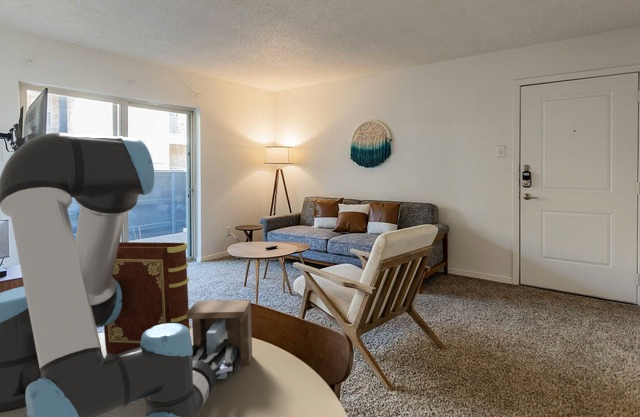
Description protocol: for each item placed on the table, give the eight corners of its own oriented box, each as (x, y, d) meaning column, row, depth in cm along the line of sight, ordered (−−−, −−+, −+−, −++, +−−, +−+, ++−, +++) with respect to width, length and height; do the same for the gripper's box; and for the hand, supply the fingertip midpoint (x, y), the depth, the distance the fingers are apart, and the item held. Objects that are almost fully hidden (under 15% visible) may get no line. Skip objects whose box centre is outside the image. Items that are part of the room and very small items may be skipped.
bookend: (199, 379, 88) (197, 333, 87) (211, 358, 98) (209, 317, 97) (225, 378, 88) (223, 332, 87) (234, 358, 98) (233, 316, 97)
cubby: (189, 374, 93) (186, 312, 92) (200, 357, 102) (197, 300, 100) (246, 373, 93) (244, 311, 92) (252, 355, 102) (250, 299, 101)
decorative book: (195, 345, 109) (191, 242, 107) (182, 358, 101) (177, 247, 99) (123, 342, 112) (117, 241, 109) (105, 354, 104) (97, 247, 102)
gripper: (151, 407, 73) (191, 351, 96) (230, 405, 73) (251, 349, 96) (149, 369, 72) (190, 322, 96) (229, 367, 72) (250, 321, 96)
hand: (220, 336), depth 96 cm, fingers closed on bookend, 2 cm apart
